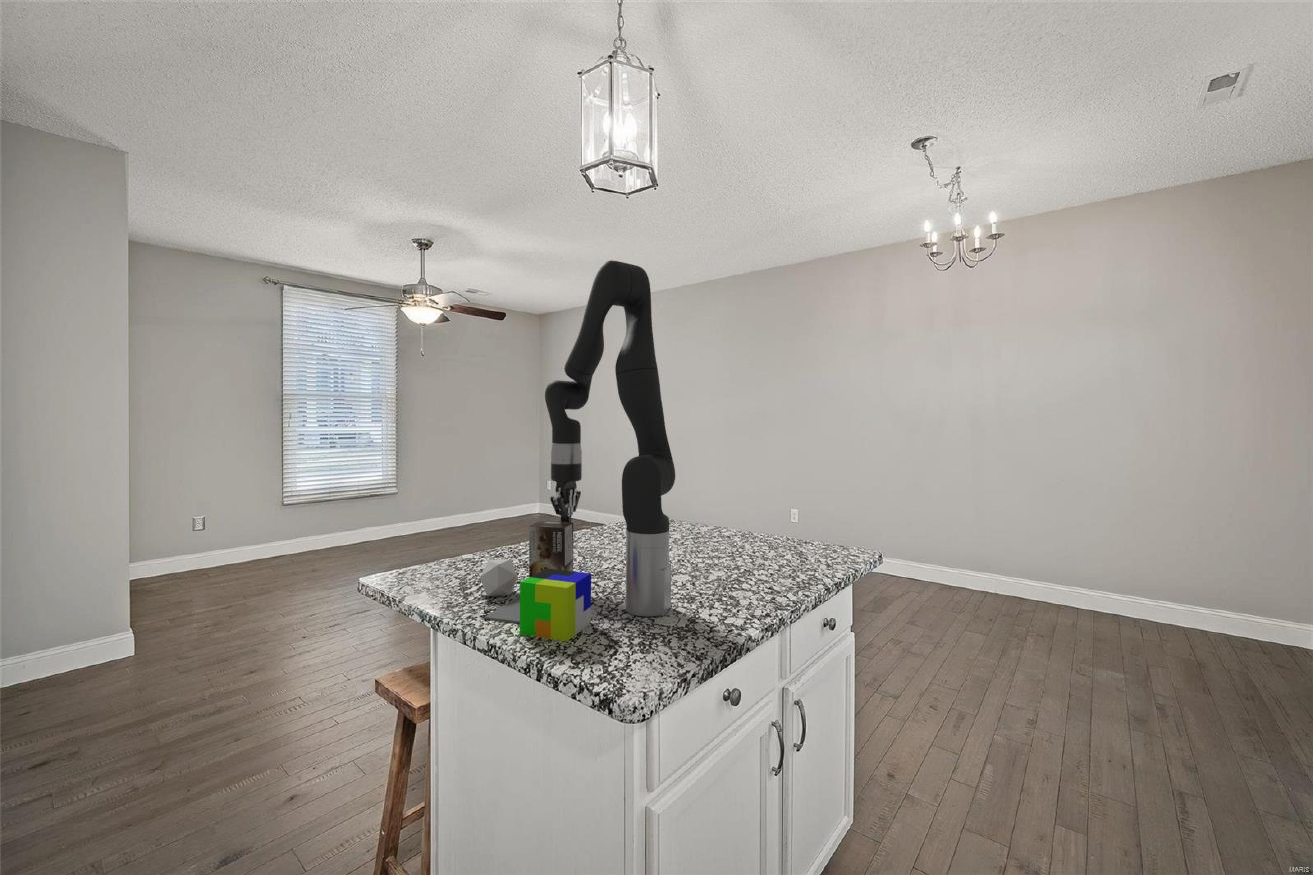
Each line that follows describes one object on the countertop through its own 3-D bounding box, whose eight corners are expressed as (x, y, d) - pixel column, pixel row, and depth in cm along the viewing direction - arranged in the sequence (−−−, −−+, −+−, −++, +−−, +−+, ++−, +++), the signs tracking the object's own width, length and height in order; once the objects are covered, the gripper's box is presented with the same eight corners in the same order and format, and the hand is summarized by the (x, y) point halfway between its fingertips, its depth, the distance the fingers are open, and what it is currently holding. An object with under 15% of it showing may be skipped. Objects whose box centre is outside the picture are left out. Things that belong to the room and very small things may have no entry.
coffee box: (574, 588, 129) (574, 522, 129) (565, 597, 123) (565, 527, 123) (538, 586, 131) (538, 520, 131) (527, 594, 125) (528, 525, 124)
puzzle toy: (590, 622, 108) (591, 573, 108) (566, 642, 99) (567, 588, 98) (547, 616, 111) (547, 568, 111) (519, 634, 102) (519, 582, 102)
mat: (559, 598, 122) (559, 596, 122) (524, 623, 107) (524, 621, 107) (523, 594, 125) (523, 592, 125) (484, 618, 109) (484, 617, 109)
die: (502, 605, 119) (526, 566, 123) (468, 585, 119) (493, 547, 123) (504, 606, 127) (527, 570, 130) (473, 588, 127) (496, 552, 131)
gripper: (568, 463, 126) (568, 537, 127) (590, 460, 139) (590, 527, 139) (539, 463, 128) (539, 535, 129) (564, 459, 141) (563, 525, 141)
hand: (566, 530), depth 134 cm, fingers closed
